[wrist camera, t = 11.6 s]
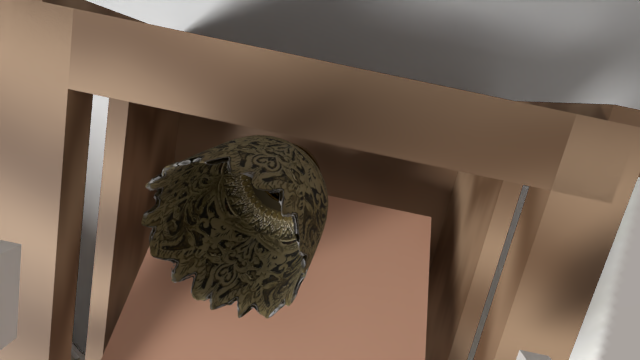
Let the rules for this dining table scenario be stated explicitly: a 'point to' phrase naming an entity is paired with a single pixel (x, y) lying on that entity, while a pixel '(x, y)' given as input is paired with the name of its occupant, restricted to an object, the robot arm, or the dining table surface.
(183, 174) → the cup
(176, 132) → the wooden slatted crate
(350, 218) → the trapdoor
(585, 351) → the dining table surface
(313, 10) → the dining table surface
